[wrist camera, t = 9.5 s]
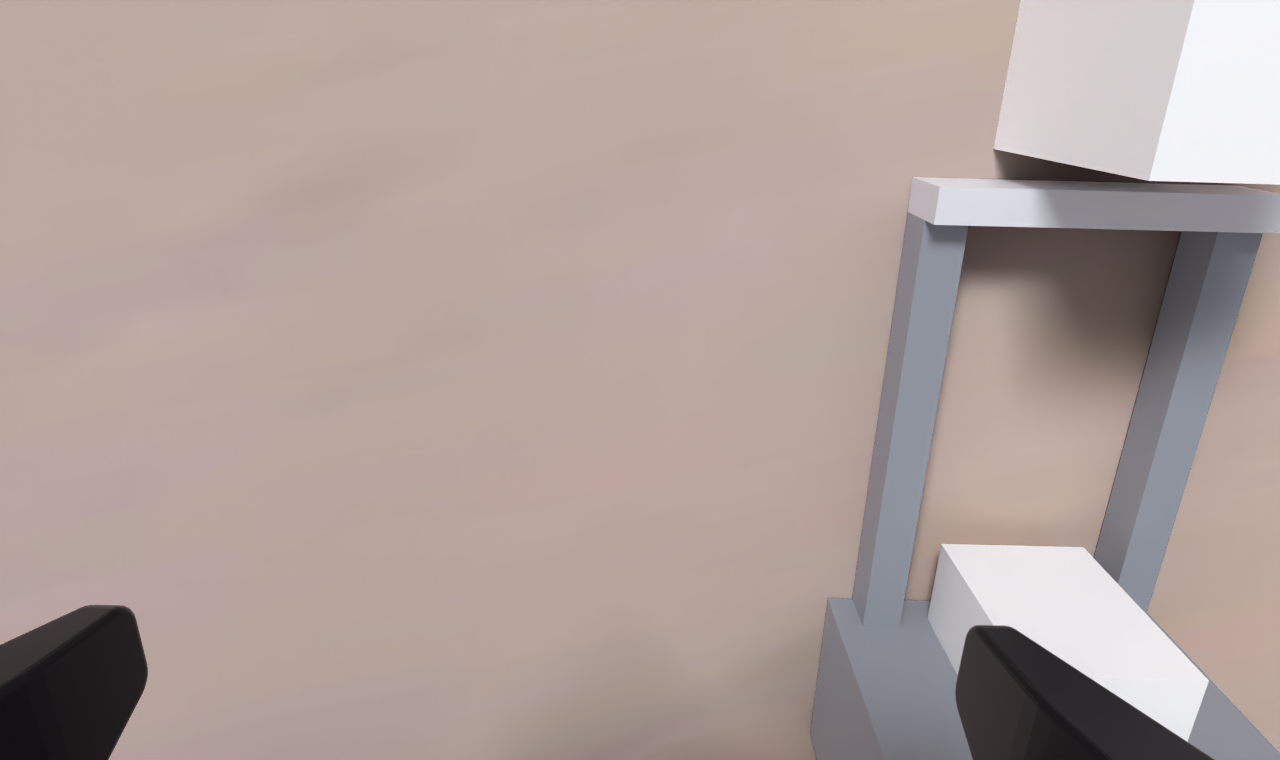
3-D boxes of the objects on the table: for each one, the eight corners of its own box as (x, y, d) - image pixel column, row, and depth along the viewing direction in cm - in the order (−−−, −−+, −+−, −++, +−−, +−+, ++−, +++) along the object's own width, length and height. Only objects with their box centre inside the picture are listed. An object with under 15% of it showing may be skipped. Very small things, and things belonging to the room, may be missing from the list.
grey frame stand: (1099, 739, 24) (1236, 936, 19) (809, 733, 24) (859, 928, 19) (1266, 186, 18) (1538, 232, 13) (883, 176, 18) (987, 218, 13)
